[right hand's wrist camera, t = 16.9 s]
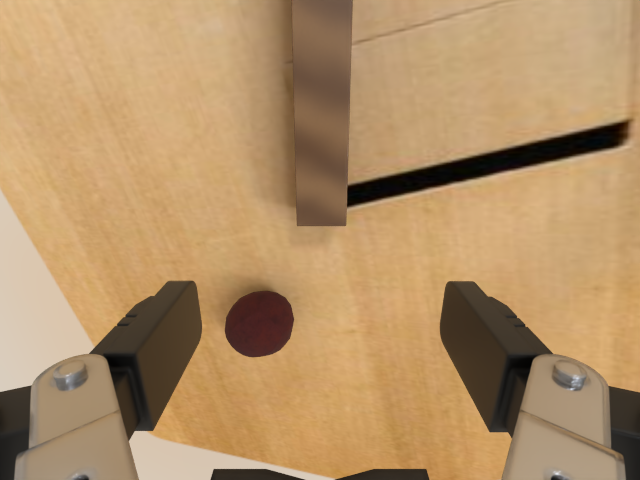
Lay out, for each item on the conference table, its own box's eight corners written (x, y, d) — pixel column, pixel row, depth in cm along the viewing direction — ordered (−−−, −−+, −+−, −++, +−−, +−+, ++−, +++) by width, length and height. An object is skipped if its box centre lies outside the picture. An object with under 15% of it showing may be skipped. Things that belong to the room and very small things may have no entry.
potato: (221, 306, 42) (203, 342, 35) (266, 267, 40) (255, 297, 33) (265, 343, 44) (255, 384, 37) (309, 307, 42) (307, 343, 35)
